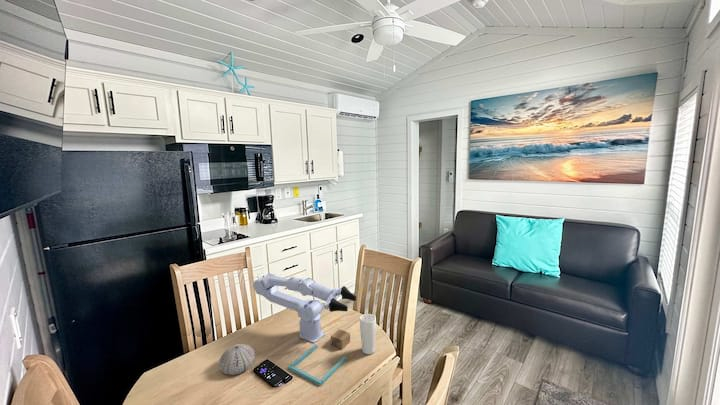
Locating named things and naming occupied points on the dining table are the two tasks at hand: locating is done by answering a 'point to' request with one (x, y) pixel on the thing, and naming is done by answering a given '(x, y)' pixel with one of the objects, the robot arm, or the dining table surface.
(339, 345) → the walnut block
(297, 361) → the frame
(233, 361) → the sea urchin shell
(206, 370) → the dining table surface
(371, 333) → the white cup
